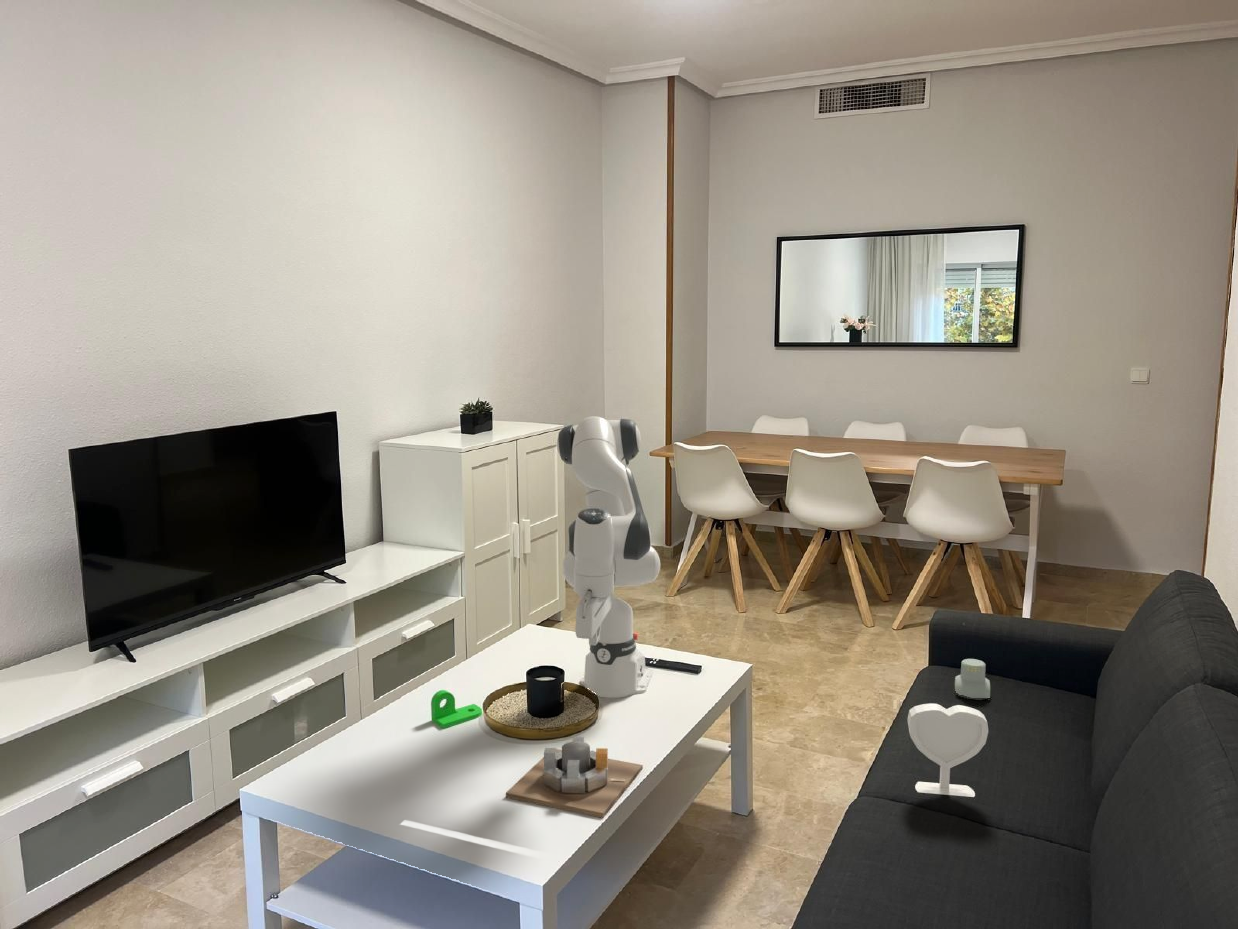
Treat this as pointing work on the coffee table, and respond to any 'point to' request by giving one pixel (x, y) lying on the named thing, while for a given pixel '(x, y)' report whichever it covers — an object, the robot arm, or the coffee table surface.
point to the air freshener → (972, 680)
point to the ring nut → (575, 771)
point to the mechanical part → (451, 710)
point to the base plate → (586, 803)
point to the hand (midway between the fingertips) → (594, 643)
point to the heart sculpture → (947, 741)
